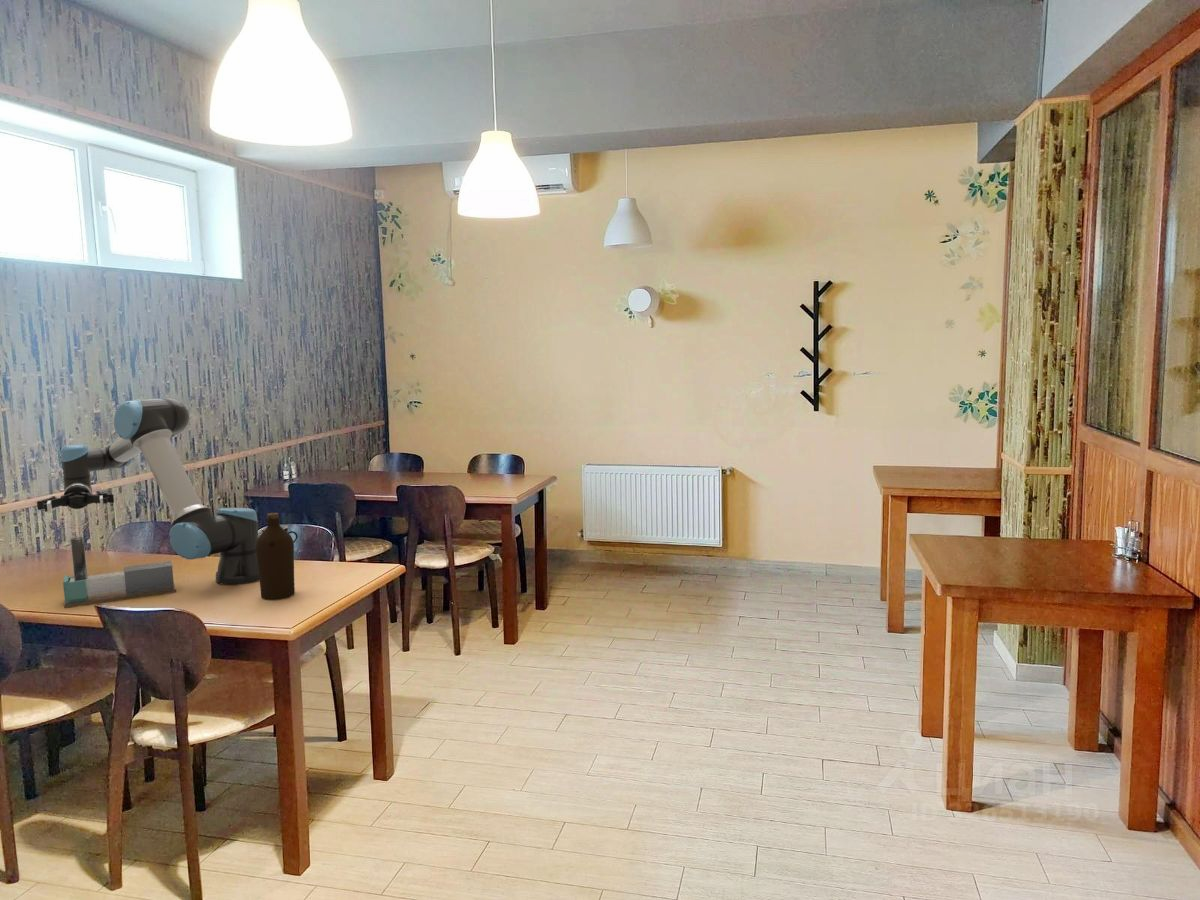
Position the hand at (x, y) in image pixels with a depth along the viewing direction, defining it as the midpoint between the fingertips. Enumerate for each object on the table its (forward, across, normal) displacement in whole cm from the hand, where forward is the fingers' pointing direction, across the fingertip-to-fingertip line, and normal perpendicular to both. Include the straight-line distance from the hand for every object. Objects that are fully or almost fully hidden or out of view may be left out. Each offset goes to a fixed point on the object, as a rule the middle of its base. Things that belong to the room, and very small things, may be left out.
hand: (75, 505), depth 253 cm
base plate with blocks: (+9, -10, -27) cm, 31 cm away
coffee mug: (-16, -59, -28) cm, 67 cm away
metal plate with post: (+10, -5, -25) cm, 28 cm away
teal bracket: (+10, +2, -26) cm, 28 cm away
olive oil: (+36, -50, -28) cm, 68 cm away
